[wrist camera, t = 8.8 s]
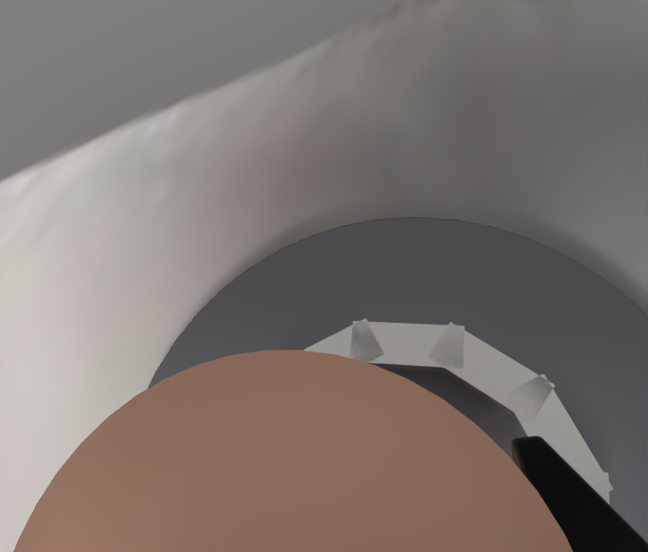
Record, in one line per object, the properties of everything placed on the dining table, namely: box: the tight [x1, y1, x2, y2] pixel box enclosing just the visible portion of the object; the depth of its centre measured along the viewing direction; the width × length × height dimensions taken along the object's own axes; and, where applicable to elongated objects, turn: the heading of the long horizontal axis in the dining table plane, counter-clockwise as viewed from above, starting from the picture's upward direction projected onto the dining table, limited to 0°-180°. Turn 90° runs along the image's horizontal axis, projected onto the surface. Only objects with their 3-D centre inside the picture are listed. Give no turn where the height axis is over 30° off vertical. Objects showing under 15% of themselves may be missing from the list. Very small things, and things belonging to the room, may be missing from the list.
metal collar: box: [304, 318, 613, 505], centre depth 16 cm, size 11×11×1 cm
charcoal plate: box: [148, 217, 648, 542], centre depth 17 cm, size 18×18×1 cm
